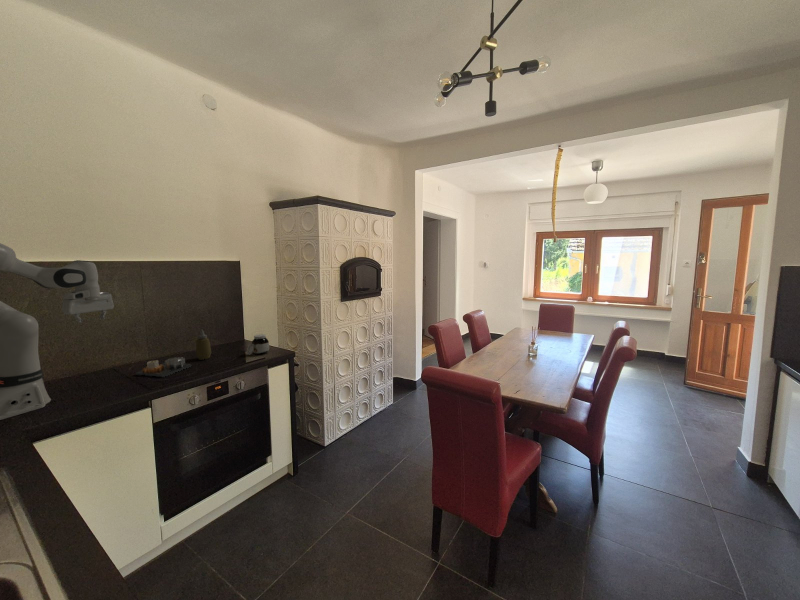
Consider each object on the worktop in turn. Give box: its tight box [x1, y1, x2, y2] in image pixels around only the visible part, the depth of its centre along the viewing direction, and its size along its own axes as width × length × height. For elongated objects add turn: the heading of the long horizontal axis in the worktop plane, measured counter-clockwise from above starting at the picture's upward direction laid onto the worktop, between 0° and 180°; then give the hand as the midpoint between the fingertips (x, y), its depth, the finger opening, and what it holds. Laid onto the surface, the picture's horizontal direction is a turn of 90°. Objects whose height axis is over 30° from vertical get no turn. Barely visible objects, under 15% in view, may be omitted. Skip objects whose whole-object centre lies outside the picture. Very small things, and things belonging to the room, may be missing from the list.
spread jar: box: [246, 333, 270, 356], centre depth 205 cm, size 12×11×12 cm
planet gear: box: [141, 359, 164, 373], centre depth 171 cm, size 9×9×4 cm
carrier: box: [136, 356, 192, 378], centre depth 174 cm, size 17×17×6 cm
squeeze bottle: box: [195, 328, 212, 361], centre depth 195 cm, size 8×8×18 cm
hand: (91, 320), depth 162 cm, fingers open, 8 cm apart
